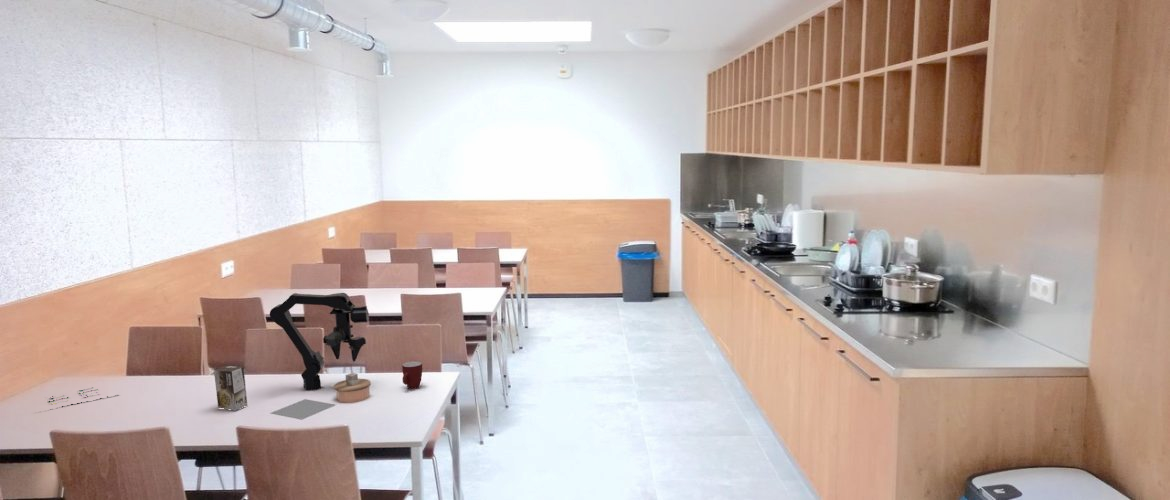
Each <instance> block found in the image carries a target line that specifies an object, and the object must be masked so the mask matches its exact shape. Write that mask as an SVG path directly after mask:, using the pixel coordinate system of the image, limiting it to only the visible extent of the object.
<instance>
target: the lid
mask: <svg viewBox="0 0 1170 500" xmlns="http://www.w3.org/2000/svg"><path fill="white" fill-rule="evenodd" d="M358 376H359V375H358V373H355V372H350V373H348V374H345V379H344V380H342V381H338V382H336V383H335V384H334V385H333V389H334V390H335V391H336V392H337V391H340V392H351V391H358V390H362V389H365V388H367V387H369V388H370V386H371V385H372V384H371V380H369V379H366V378H359V377H358Z"/></svg>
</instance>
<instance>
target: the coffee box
mask: <svg viewBox="0 0 1170 500" xmlns="http://www.w3.org/2000/svg"><path fill="white" fill-rule="evenodd" d="M213 374H214V382H215V390H216V400H217V408H224V409H231V410H237V409H240V408H242V407H244V406H247V407H248V400H247V399H248V397H247V389H246V379H245V368H244V366H237V365H224V366H222V367H221V366H220V367H219V368H216V369H214V370H213ZM244 408H245V407H244ZM242 409H243V408H242ZM240 410H241V409H240ZM237 411H238V410H237Z"/></svg>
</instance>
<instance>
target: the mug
mask: <svg viewBox="0 0 1170 500" xmlns="http://www.w3.org/2000/svg"><path fill="white" fill-rule="evenodd" d="M401 369H402V384H404V385H405V386H407V387H408V389H410V390H414V389H418V388H419V387H420V385H421V382H422V377H423V362H421V361H415V360H414V361H406V362H404V363H402V366H401Z"/></svg>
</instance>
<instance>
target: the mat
mask: <svg viewBox="0 0 1170 500" xmlns="http://www.w3.org/2000/svg"><path fill="white" fill-rule="evenodd" d="M335 406H336V404H335V403H330V402H329V403H328V402H324V401H317V400H311V399H308V398H307V399H306V398H305V399H302V400H300V401H297V402H295V403H292V404H289V405H287V406H284V407H282V408H280V409H277V410H274V411H271V412H269V414H271V415H277V416H280V417H281V416H283V417H286V418H292V419H297V420H304V419H307V418H309V417H311V416H313V415H316V414H319V413H321V412H323V411H325V410H328V409H330V408H333V407H335Z"/></svg>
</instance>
